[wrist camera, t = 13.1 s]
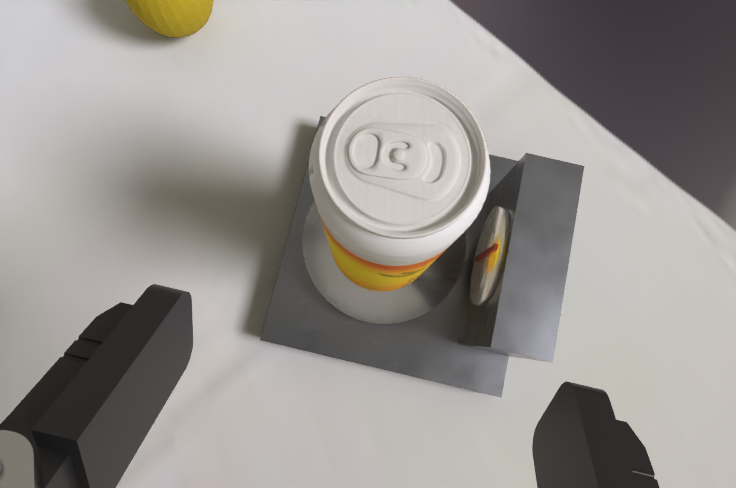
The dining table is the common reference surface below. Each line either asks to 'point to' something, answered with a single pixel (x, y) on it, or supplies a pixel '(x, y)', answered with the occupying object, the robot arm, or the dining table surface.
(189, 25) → the lemon
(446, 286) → the pan
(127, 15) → the dining table surface
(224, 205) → the dining table surface
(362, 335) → the scale
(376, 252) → the beer can
